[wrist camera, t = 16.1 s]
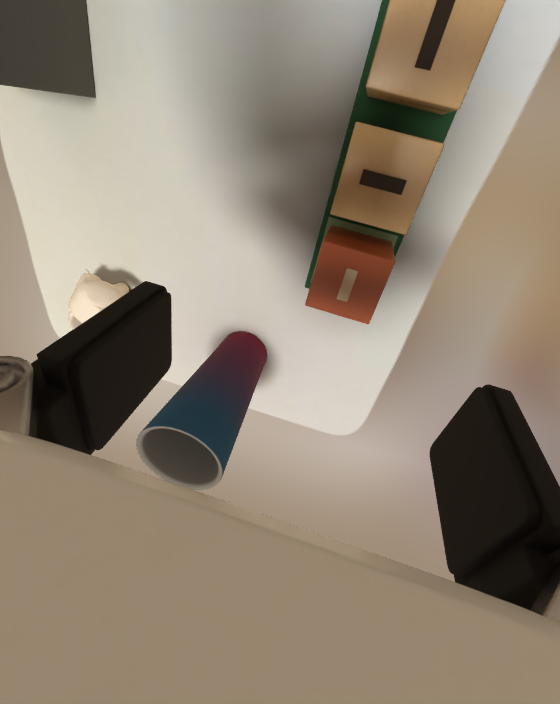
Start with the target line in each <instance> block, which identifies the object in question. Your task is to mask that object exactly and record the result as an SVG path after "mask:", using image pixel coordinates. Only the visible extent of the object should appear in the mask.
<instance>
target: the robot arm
mask: <svg viewBox="0 0 560 704" xmlns="http://www.w3.org/2000/svg"><path fill="white" fill-rule="evenodd" d="M37 357H38V359H37V360H36V361H34V362H33V363H32V364H30V363H29V362H28V361H27V360H24V359H22V358H19V357H12V356H0V704H560V487H559V485H558V483H557V481H556V479H555V477H554V475H553V473H552V471H551V469H550V467H549V465H548V463H547V461H546V459H545V457H544V455H543V453H542V451H541V449H540V447H539V445H538V443H537V441H536V439H535V437H534V435H533V433H532V432H531V429H530V427H529V426H528V423H527V422H526V419H525V418H524V416H523V414H522V412H521V410H520V408H519V406H518V404H517V402H516V400H515V398H514V396H513V394H512V393H511V391H508V390H505V389H502V388H498V387H495V386H492V385H485V386H483V387H482V388H481V387H478V388H476V389H475V390H474V391H473V392H472V394H471V395H470V396H469V398H468V399H467V400H466V402H465V403H464V404H463V405H462V407H461V408H460V409H459V410H458V412H457V413H456V414H455V416H454V417H453V418H452V419H451V421H450V422H449V423H448V425H447V426H446V427H445V428H444V430H443V431H442V432H441V434H440V435H439V436H438V438H437V439H436V440H435V441H434V443H433V444H432V446H431V449H430V460H431V467H432V473H433V479H434V485H435V492H436V498H437V504H438V510H439V516H440V522H441V529H442V535H443V540H444V547H445V553H446V560H447V565H448V569H449V571H450V572H451V573H452V574H454V578H455V582H453V581H450V580H447V579H444V578H442V577H439V576H436V575H433V574H431V573H428V572H425V571H422V570H419V569H417V568H414V567H411V566H408V565H405V564H403V563H399V562H397V561H394V560H391V559H388V558H385V557H383V556H380V555H377V554H374V553H372V552H369V551H366V550H363V549H360V548H358V547H354V546H352V545H349V544H346V543H343V542H341V541H338V540H335V539H332V538H329V537H326V536H323V535H320V534H318V533H315V532H312V531H309V530H306V529H303V528H300V527H298V526H295V525H292V524H289V523H286V522H284V521H281V520H278V519H275V518H272V517H269V516H266V515H264V514H261V513H258V512H255V511H252V510H249V509H246V508H243V507H241V506H238V505H235V504H232V503H229V502H226V501H224V500H220V499H218V498H215V497H212V496H209V495H206V494H203V493H200V492H197V491H195V490H192V489H189V488H186V487H183V486H180V485H177V484H174V483H171V482H168V481H166V480H162V479H160V478H157V477H154V476H151V475H148V474H145V473H142V472H139V471H136V470H133V469H131V468H128V467H125V466H122V465H119V464H116V463H113V462H110V461H107V460H104V459H101V458H98V457H95V456H92V455H91V454H92V453H93V452H94V450H95V449H96V450H100V449H102V448H103V447H104V446H105V445H106V443H107V442H108V441H109V440H110V439H111V438H112V436H113V435H114V434H115V433H116V432H117V430H118V429H119V428H120V427H121V426H122V424H123V423H124V422H125V421H126V420H127V419H128V417H129V416H130V415H131V414H132V413H133V411H134V410H135V409H136V408H137V407H138V406H139V404H140V403H141V402H142V401H143V399H144V398H145V397H146V396H147V395H148V394H149V392H150V391H151V390H152V389H153V388H154V387H155V386H156V384H157V383H158V382H159V381H160V380H161V378H162V377H163V376H164V375H165V374H166V373H167V371H168V370H169V368H170V365H171V361H172V342H171V295H170V293H168V292H167V290H166V288H165V287H164V286H161V285H158V284H154V283H151V282H147V281H145V282H143V283H141V284H140V285H138V286H137V287H135V288H134V289H132V290H131V291H129V292H128V293H127V294H125V295H124V296H122V297H121V298H119V299H118V300H116V301H115V302H113V303H112V304H110V305H109V306H107V307H106V308H104V309H103V310H101V311H100V312H98V313H97V314H95V315H94V316H93V317H91V318H90V319H88V320H87V321H85V322H84V323H82V324H81V325H79V326H78V327H76V328H75V329H73V330H72V331H70V332H69V333H67V334H66V335H64V336H63V337H62V338H60V339H59V340H57V341H56V342H54V343H53V344H51V345H50V346H48V347H47V348H45V349H44V350H43V351H41V352H39V353H38V354H37Z"/></svg>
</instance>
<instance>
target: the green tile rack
mask: <svg viewBox="0 0 560 704" xmlns="http://www.w3.org/2000/svg"><path fill="white" fill-rule="evenodd" d="M505 1H506V0H382V3H381V7H380V11H379V14H378V18H377V22H376V26H375V29H374V33H373V37H372V40H371V44H370V48H369V51H368V55H367V59H366V63H365V66H364V70H363V74H362V77H361V81H360V85H359V88H358V92H357V96H356V100H355V103H354V107H353V111H352V114H351V118H350V122H349V125H348V129H347V133H346V137H345V140H344V144H343V148H342V151H341V155H340V159H339V162H338V166H337V170H336V174H335V177H334V181H333V185H332V188H331V192H330V196H329V200H328V203H327V207H326V211H325V214H324V218H323V222H322V225H321V229H320V233H319V237H318V240H317V244H316V248H315V251H314V255H313V259H312V262H311V266H310V270H309V274H308V277H307V281H306V285H305V287H306V288H309V289H310V285H311V282H312V278H313V275H314V271H315V268H316V264H317V261H318V257H319V253H320V250H321V246H322V243H323V240H324V238H325V236H326V234H327V232H328V230H329V228H330V226H331V225H334V226H337V227H341V228H344V229H348V230H352V231H355V232H359V233H362V234H366V235H369V236H373V237H377V238H380V239H384V240H387V241H391V242H392V244H393V251H394V257H395V256H396V253H397V251H398V249H399V246H400V244H401V242H402V239H403V237H404V235H406V234H407V231H408V229H409V227H410V224H411V222H412V220H413V217H414V215H415V213H416V210H417V208H418V205H419V203H420V201H421V198H422V196H423V194H424V191H425V189H426V187H427V184H428V182H429V180H430V177H431V175H432V173H433V170H434V168H435V165H436V163H437V161H438V158H439V156H440V154H441V151H442V149H443V147H444V144H443V142H444V140H445V137H446V135H447V133H448V130H449V128H450V125H451V123H452V121H453V118H454V116H455V114H456V111H457V110H459V109H460V107H461V104H462V102H463V100H464V97H465V95H466V93H467V90H468V88H469V85H470V83H471V81H472V78H473V76H474V74H475V71H476V69H477V67H478V64H479V62H480V60H481V57H482V55H483V53H484V50H485V48H486V45H487V43H488V41H489V38H490V36H491V34H492V31H493V29H494V27H495V24H496V22H497V20H498V17H499V15H500V12H501V10H502V8H503V5H504V3H505Z"/></svg>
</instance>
